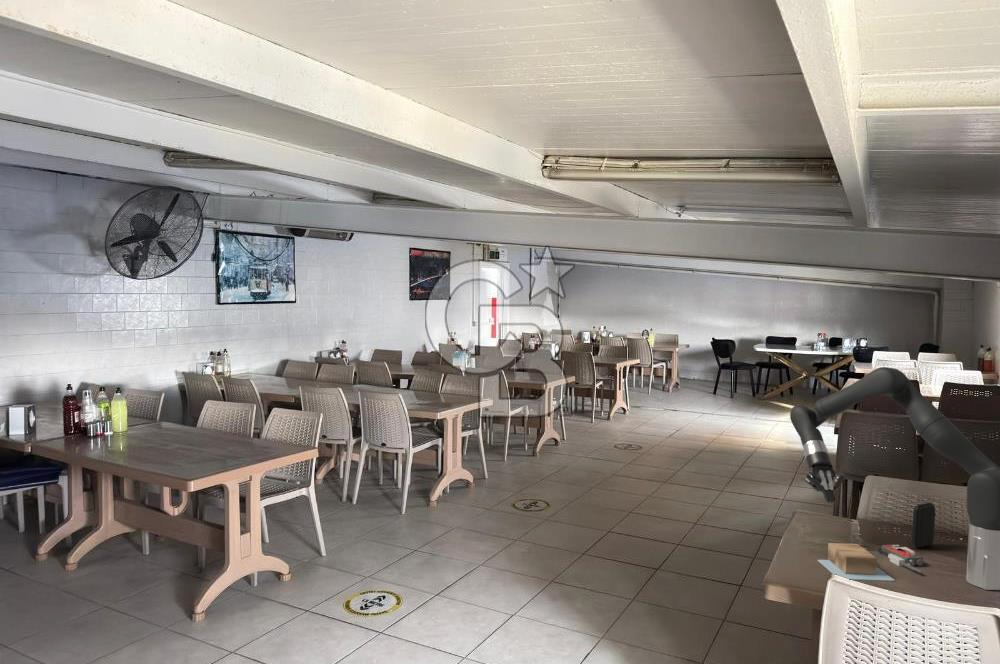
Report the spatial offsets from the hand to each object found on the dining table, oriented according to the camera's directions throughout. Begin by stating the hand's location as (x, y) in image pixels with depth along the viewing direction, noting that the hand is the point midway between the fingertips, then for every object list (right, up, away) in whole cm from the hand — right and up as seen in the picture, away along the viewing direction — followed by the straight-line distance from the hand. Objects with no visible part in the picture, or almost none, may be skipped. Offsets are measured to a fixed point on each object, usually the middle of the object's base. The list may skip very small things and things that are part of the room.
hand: (831, 502), depth 230 cm
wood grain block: (-1, -13, -8) cm, 16 cm away
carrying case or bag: (+34, -17, +6) cm, 38 cm away
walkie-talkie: (+19, -17, -9) cm, 27 cm away
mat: (-1, -17, -17) cm, 24 cm away
